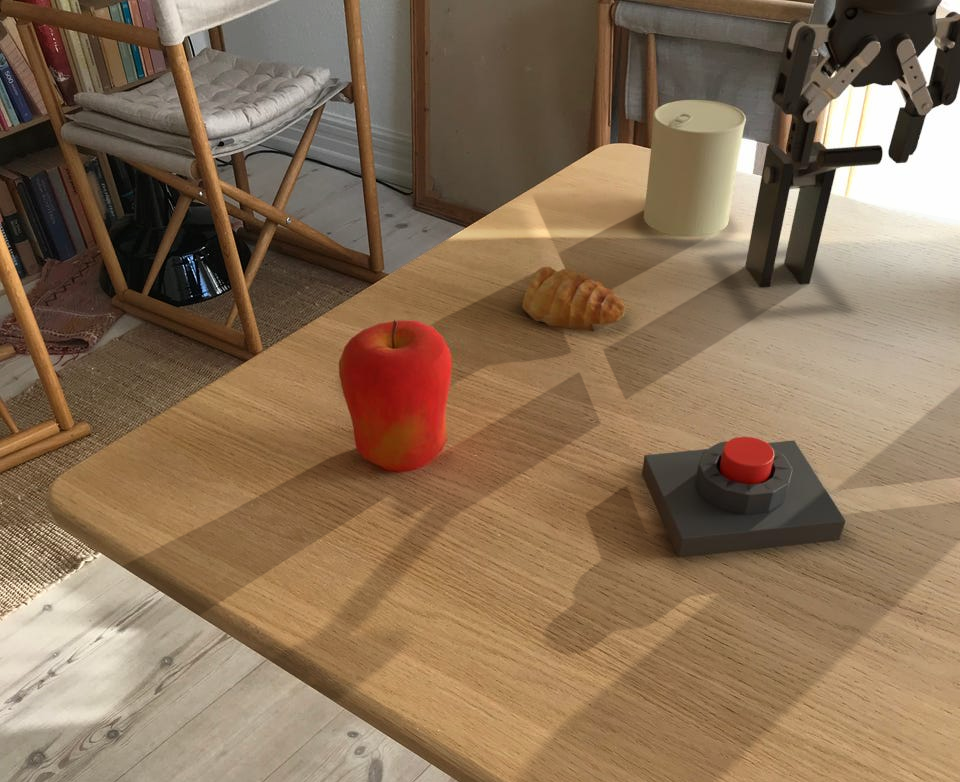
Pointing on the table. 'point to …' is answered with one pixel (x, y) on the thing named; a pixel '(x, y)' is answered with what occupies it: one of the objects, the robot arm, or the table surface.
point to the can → (693, 167)
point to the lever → (835, 162)
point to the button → (746, 460)
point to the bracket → (772, 215)
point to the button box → (739, 502)
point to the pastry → (570, 300)
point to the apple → (397, 393)
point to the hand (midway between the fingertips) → (847, 162)
